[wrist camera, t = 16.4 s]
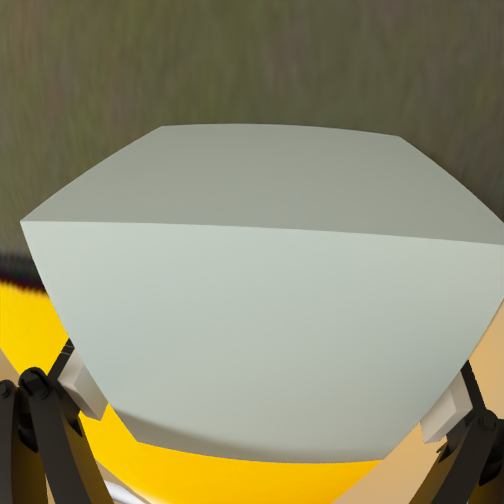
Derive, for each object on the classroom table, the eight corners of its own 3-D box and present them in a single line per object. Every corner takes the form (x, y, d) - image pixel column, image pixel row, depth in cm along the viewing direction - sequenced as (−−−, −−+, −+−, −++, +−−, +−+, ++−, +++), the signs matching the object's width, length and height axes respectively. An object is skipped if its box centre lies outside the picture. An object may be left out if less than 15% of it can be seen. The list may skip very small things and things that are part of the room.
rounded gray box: (161, 126, 12) (19, 221, 5) (399, 136, 12) (527, 247, 4) (185, 305, 18) (137, 441, 11) (360, 315, 17) (383, 459, 10)
